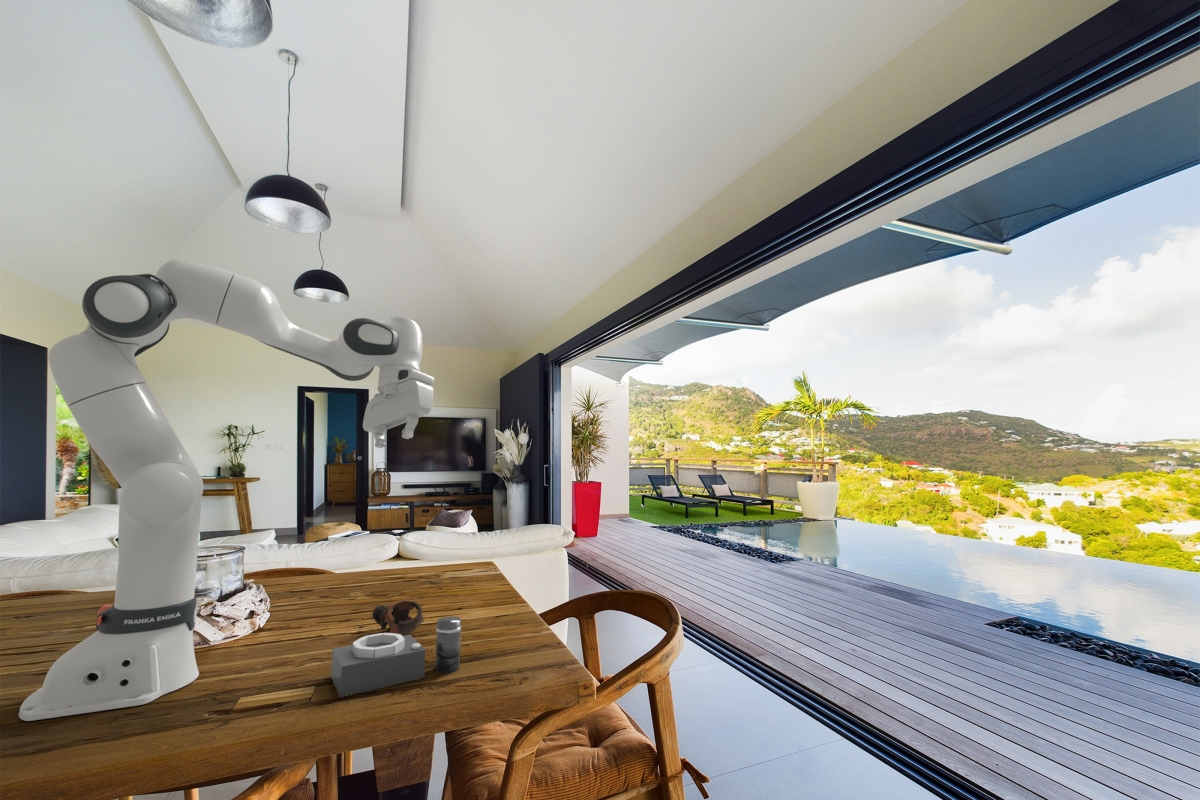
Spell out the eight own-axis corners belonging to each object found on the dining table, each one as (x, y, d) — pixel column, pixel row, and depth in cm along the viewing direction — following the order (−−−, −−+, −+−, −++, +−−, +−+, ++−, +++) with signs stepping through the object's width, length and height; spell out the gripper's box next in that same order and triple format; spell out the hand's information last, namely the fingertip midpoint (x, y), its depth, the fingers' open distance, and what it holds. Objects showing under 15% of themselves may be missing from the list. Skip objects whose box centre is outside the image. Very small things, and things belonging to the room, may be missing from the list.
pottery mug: (427, 627, 127) (431, 601, 124) (410, 659, 119) (415, 631, 116) (378, 614, 127) (382, 587, 124) (358, 645, 119) (361, 617, 116)
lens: (439, 675, 99) (441, 625, 100) (431, 667, 102) (433, 618, 103) (463, 670, 101) (464, 621, 102) (454, 662, 105) (456, 614, 106)
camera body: (340, 697, 89) (342, 657, 90) (330, 677, 98) (332, 640, 98) (424, 678, 97) (425, 641, 98) (409, 660, 105) (410, 626, 106)
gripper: (359, 392, 124) (352, 449, 119) (416, 367, 113) (410, 428, 108) (383, 400, 129) (377, 455, 123) (439, 376, 118) (435, 435, 113)
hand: (393, 442), depth 116 cm, fingers open, 8 cm apart
